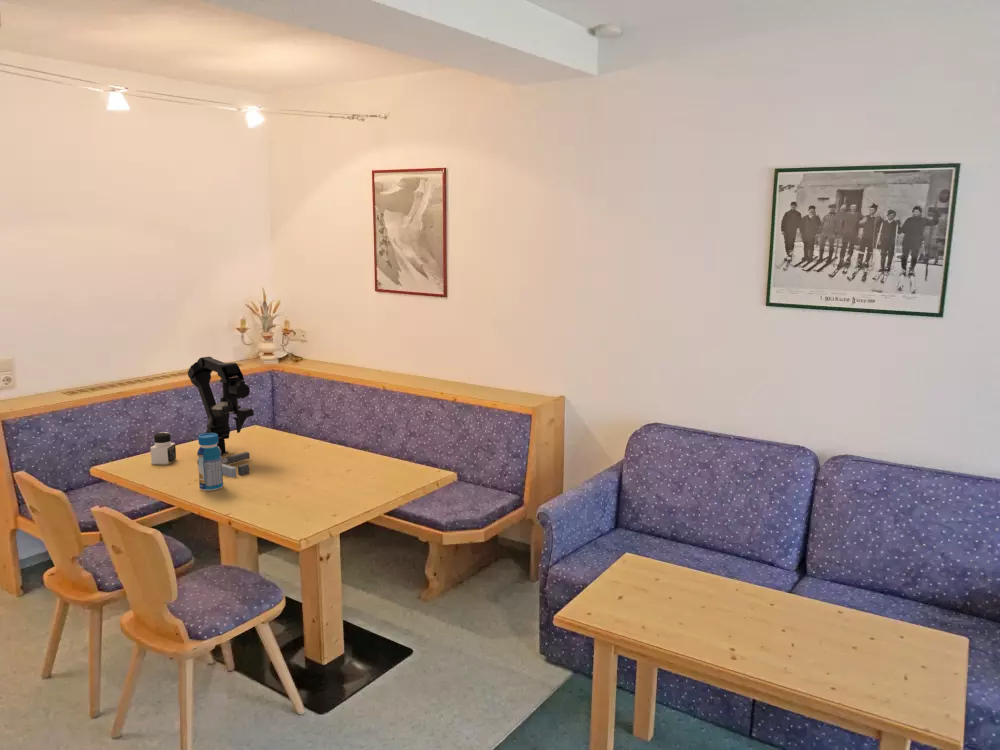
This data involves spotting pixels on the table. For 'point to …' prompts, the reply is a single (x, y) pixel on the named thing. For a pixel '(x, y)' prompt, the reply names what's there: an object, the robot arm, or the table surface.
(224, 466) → the door board
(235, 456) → the lock bar
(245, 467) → the grey square block
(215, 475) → the beverage bottle
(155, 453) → the medicine bottle
